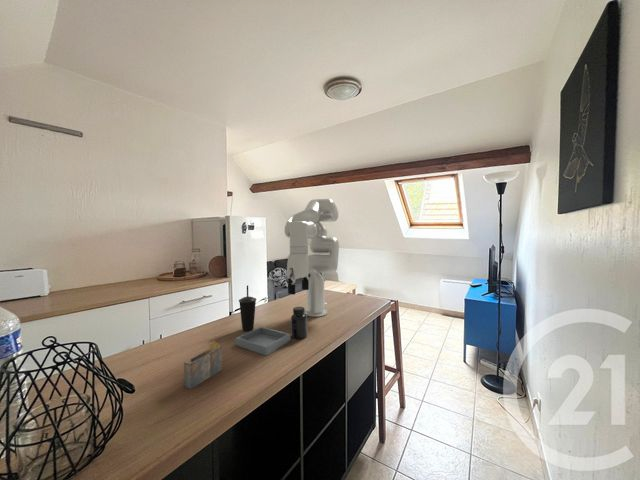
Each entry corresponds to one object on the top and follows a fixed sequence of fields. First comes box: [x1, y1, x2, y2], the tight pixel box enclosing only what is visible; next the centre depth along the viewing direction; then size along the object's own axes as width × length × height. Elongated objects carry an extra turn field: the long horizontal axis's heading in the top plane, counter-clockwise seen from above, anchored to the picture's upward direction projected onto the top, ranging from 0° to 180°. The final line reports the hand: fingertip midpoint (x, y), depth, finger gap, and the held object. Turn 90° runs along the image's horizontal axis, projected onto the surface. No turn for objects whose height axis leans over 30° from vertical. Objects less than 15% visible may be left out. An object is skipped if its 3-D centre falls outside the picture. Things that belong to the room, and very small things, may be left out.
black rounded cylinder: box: [238, 285, 257, 333], centre depth 117 cm, size 8×8×20 cm
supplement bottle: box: [290, 306, 308, 340], centre depth 110 cm, size 7×7×12 cm
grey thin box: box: [183, 339, 223, 390], centre depth 79 cm, size 11×3×10 cm, turn 155°
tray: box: [235, 325, 292, 357], centre depth 103 cm, size 14×16×3 cm
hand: (298, 291), depth 109 cm, fingers open, 9 cm apart
